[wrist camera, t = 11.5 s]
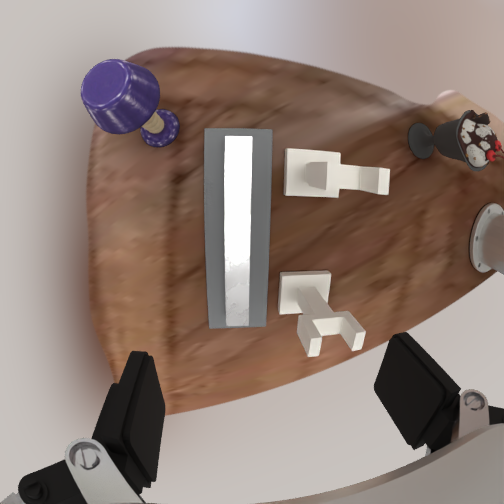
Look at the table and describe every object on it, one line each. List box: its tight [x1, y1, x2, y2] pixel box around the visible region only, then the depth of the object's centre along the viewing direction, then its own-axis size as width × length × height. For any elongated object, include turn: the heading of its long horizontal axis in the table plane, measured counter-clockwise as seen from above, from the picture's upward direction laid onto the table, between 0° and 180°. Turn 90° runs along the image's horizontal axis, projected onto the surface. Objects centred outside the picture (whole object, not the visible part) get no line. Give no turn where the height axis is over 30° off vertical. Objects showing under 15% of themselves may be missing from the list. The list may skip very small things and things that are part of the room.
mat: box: [204, 128, 272, 328], centre depth 30 cm, size 7×23×1 cm, turn 179°
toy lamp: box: [81, 59, 179, 147], centre depth 18 cm, size 5×5×17 cm
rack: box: [278, 148, 390, 357], centre depth 26 cm, size 6×19×12 cm, turn 179°
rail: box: [224, 136, 252, 326], centre depth 29 cm, size 2×20×2 cm, turn 179°
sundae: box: [408, 110, 504, 171], centre depth 22 cm, size 7×7×15 cm
